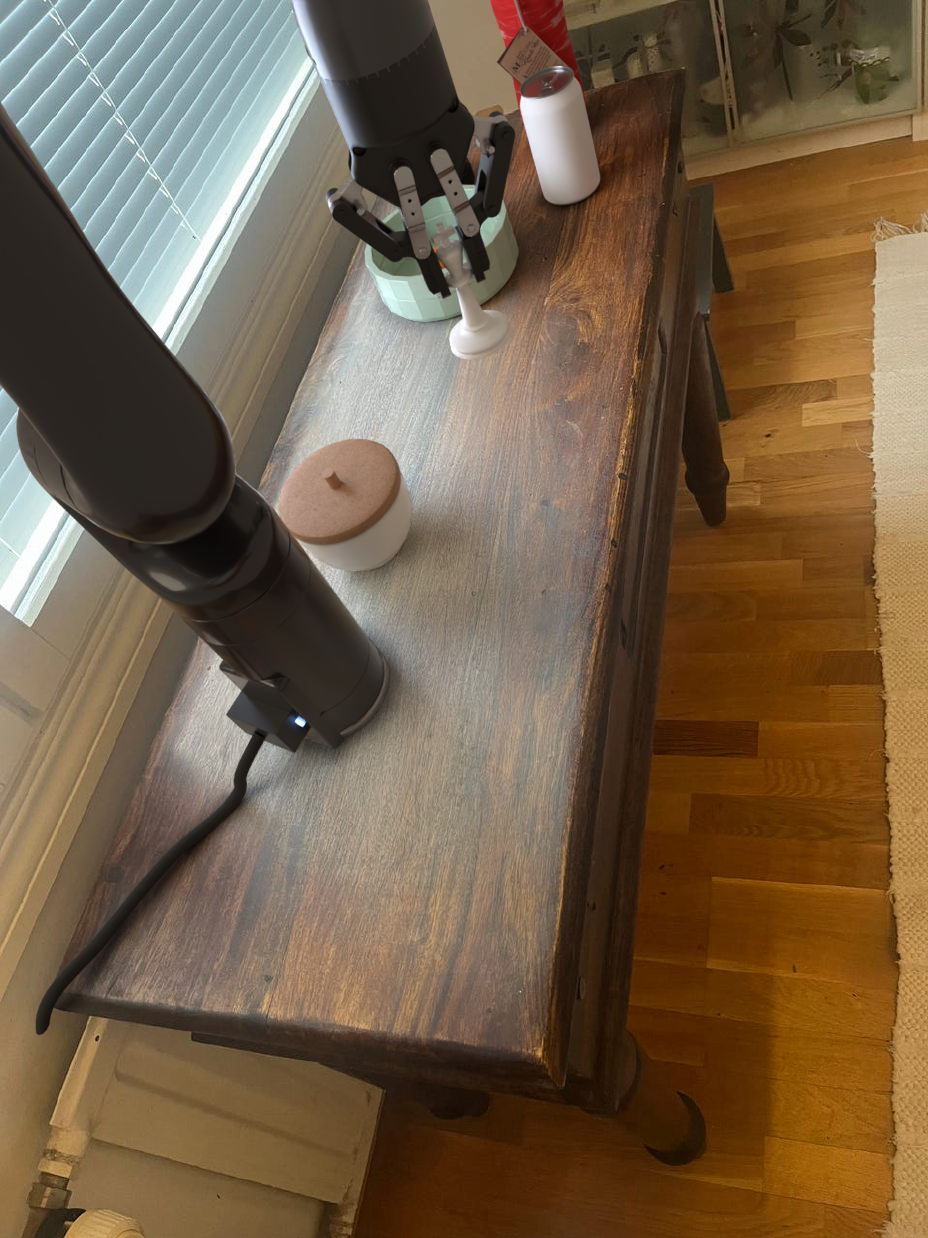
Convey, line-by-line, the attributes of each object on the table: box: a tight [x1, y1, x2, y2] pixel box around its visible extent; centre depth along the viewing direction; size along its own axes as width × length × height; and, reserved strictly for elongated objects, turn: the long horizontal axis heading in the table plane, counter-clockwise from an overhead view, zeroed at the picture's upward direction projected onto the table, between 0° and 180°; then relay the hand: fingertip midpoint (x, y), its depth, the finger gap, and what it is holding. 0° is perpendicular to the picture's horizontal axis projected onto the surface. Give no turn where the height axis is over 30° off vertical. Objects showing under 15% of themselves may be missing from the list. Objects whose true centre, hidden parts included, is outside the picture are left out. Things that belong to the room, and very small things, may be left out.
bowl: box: [364, 184, 520, 323], centre depth 99 cm, size 16×16×6 cm
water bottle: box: [489, 0, 588, 129], centre depth 100 cm, size 12×8×25 cm, turn 166°
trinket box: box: [277, 438, 413, 572], centre depth 79 cm, size 11×11×9 cm
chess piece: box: [431, 222, 513, 361], centre depth 68 cm, size 5×5×10 cm
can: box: [520, 66, 601, 207], centre depth 98 cm, size 6×6×12 cm
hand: (461, 282), depth 68 cm, fingers closed on chess piece
